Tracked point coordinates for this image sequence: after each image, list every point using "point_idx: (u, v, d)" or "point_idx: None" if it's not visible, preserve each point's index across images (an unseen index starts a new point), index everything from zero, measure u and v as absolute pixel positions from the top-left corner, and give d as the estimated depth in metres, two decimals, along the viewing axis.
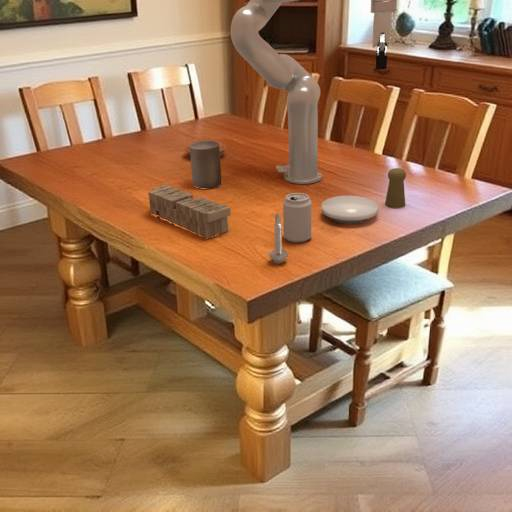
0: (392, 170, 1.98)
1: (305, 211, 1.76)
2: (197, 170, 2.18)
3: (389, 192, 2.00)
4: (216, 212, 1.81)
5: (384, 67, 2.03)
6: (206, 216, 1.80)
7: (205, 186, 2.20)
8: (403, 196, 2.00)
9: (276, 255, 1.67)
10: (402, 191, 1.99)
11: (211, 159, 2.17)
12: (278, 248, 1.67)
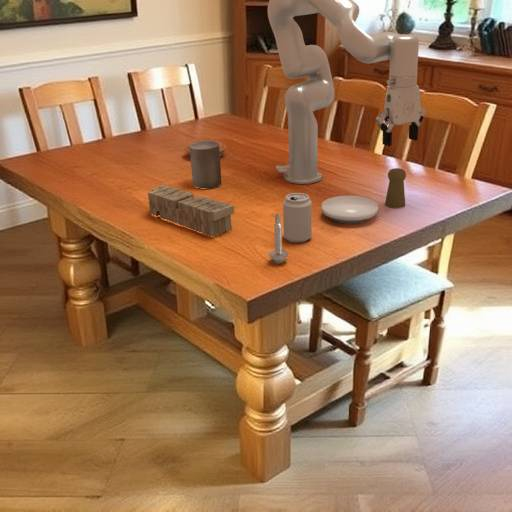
0: (392, 170, 1.98)
1: (305, 211, 1.76)
2: (197, 170, 2.18)
3: (389, 192, 2.00)
4: (221, 210, 1.82)
5: None
6: (211, 214, 1.81)
7: (205, 186, 2.20)
8: (403, 196, 2.00)
9: (276, 255, 1.67)
10: (402, 191, 1.99)
11: (211, 159, 2.17)
12: (278, 248, 1.67)
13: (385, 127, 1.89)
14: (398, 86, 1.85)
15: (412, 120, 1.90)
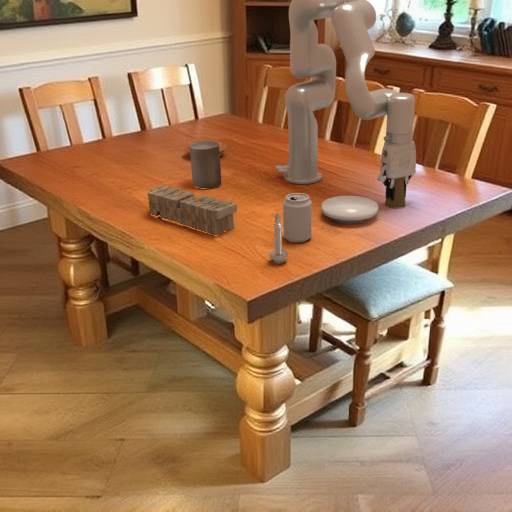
0: None
1: (305, 211, 1.76)
2: (197, 170, 2.18)
3: None
4: (224, 209, 1.83)
5: None
6: (215, 213, 1.82)
7: (205, 186, 2.20)
8: (403, 196, 2.00)
9: (276, 255, 1.67)
10: (402, 191, 1.99)
11: (211, 159, 2.17)
12: (278, 248, 1.67)
13: (388, 183, 1.97)
14: (394, 143, 1.91)
15: (407, 174, 1.97)
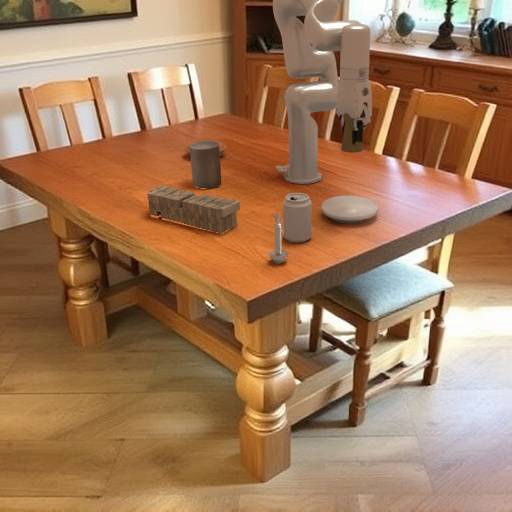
0: None
1: (305, 211, 1.76)
2: (197, 170, 2.18)
3: None
4: (229, 207, 1.84)
5: None
6: (220, 211, 1.83)
7: (205, 186, 2.20)
8: None
9: (276, 255, 1.67)
10: None
11: (211, 159, 2.17)
12: (278, 248, 1.67)
13: None
14: (367, 77, 1.77)
15: None
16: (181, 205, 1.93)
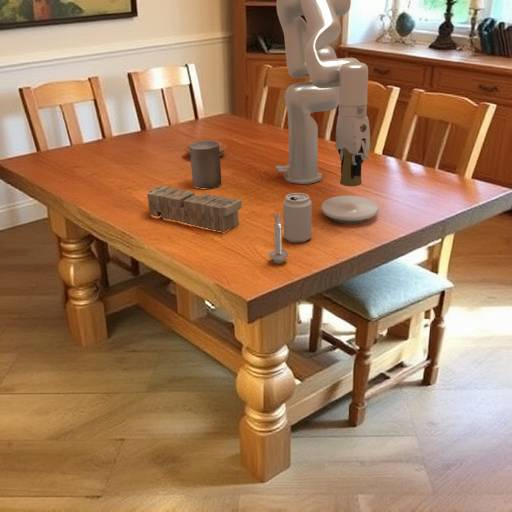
0: None
1: (305, 211, 1.76)
2: (197, 170, 2.18)
3: None
4: (231, 206, 1.85)
5: None
6: (223, 210, 1.84)
7: (205, 186, 2.20)
8: None
9: (276, 255, 1.67)
10: None
11: (211, 159, 2.17)
12: (278, 248, 1.67)
13: None
14: (365, 113, 1.81)
15: None
16: (182, 205, 1.93)
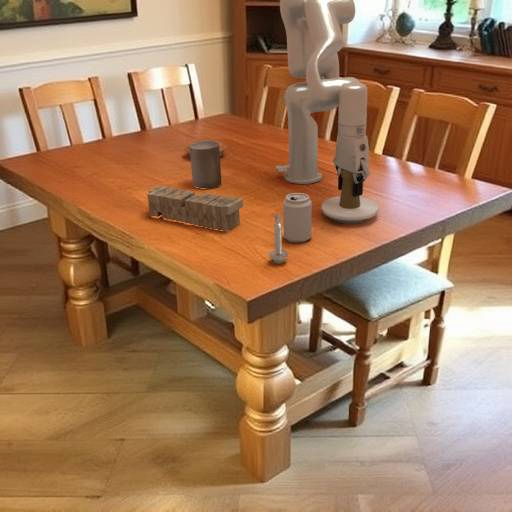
0: None
1: (305, 211, 1.76)
2: (197, 170, 2.18)
3: None
4: (233, 204, 1.86)
5: None
6: (225, 209, 1.85)
7: (205, 186, 2.20)
8: None
9: (276, 255, 1.67)
10: None
11: (211, 159, 2.17)
12: (278, 248, 1.67)
13: None
14: (364, 133, 1.83)
15: None
16: (183, 204, 1.93)
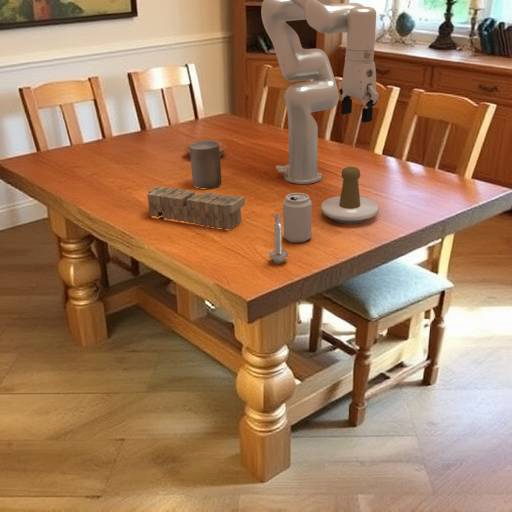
0: (352, 170, 1.88)
1: (305, 211, 1.76)
2: (197, 170, 2.18)
3: (355, 193, 1.90)
4: (236, 203, 1.87)
5: None
6: (228, 208, 1.86)
7: (205, 186, 2.20)
8: None
9: (276, 255, 1.67)
10: None
11: (211, 159, 2.17)
12: (278, 248, 1.67)
13: None
14: (372, 59, 1.82)
15: None
16: (184, 204, 1.93)
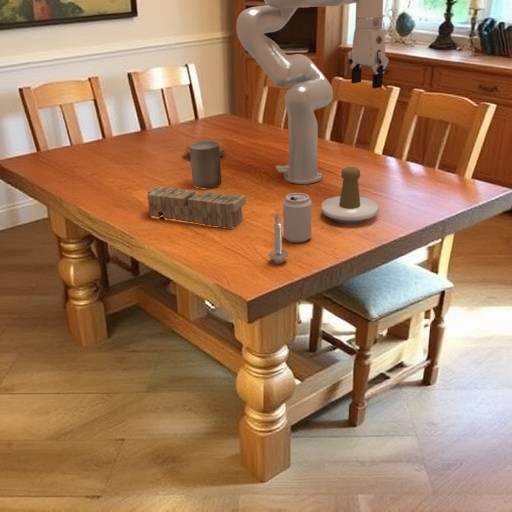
0: (352, 170, 1.88)
1: (305, 211, 1.76)
2: (197, 170, 2.18)
3: (355, 193, 1.90)
4: (238, 201, 1.88)
5: None
6: (231, 206, 1.86)
7: (205, 186, 2.20)
8: None
9: (276, 255, 1.67)
10: None
11: (211, 159, 2.17)
12: (278, 248, 1.67)
13: None
14: (381, 26, 1.91)
15: None
16: (185, 204, 1.93)
